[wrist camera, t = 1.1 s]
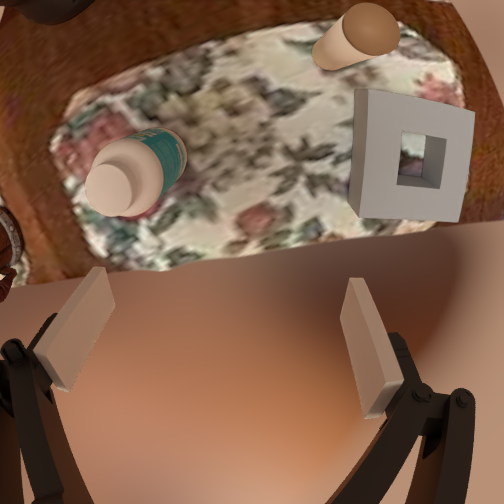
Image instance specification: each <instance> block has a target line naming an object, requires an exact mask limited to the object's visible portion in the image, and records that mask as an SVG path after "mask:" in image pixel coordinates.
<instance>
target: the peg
mask: <svg viewBox="0 0 504 504" xmlns="http://www.w3.org/2000/svg"><path fill="white" fill-rule="evenodd" d="M399 41H400V29H399V26H398V23H397V21H396V20H395V18H394V17H393V16H392V14H390V13H389V12H388V11H387V10H386V9H384V8H383V7H381V6H379V5H376V4H372V3H360V4H357V5H354V6H353V7H352V8H350V9H349V10H348V11H347V12H346V13H345V14H344V15H343V16H342V17H341V18H340V19H339V20H338V21H337V22H336V23H335V24H334V25H333V26H332V27H331V28H330V29H329V30H328V31H327V32H326V33H325V34H324V35H323V36H322V37H321V38H320V39H319V40H318V41H317V42H316V43H315V44H314V46H313V48H312V58H313V60H314V62H315V63H316V64H317V65H318V66H319V67H320V68H322V69H325V70H331V71H332V70H337V69H340V68H343V67H345V66H348V65H351V64H354V63H357V62H360V61H364V60H367V59H370V58H373V57H377V56H380V55H383V54H387V53H389V52H391V51H393V50H394V49H395V48H396V47H397V45H398V43H399Z"/></svg>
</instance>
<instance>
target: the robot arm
mask: <svg viewBox="0 0 504 504" xmlns="http://www.w3.org/2000/svg"><path fill="white" fill-rule="evenodd" d="M93 1H94V0H0V6H7V7H13V8H14V9H16V10H17V11H19V12H20V13H22V14H23V15H24V16H25V17H26V18H27V19H28V20H30V21H31V22H34V23H38V24H44V25H55V24H59V23H62V22H65V21H67V20H69V19H71V18H72V17H74V16H76V15H77V14H79V13H80V12H81V11H83V10H84V9H85V8H86V7H87V6H88V5H90V4H91V3H92V2H93ZM115 306H116V305H115V302H114V298H113V295H112V292H111V288H110V285H109V281H108V278H107V273H106V270H105V267H93V268H92V269H91V271H90V272H89V273H88V274H87V276H86V277H85V278H84V280H83V281H82V282H81V283H80V285H79V286H78V287H77V288H76V290H75V291H74V293H73V294H72V295H71V296H70V298H69V299H68V301H67V302H66V303H65V304H64V306H63V307H62V309H61V310H60V311H59V313H54V314H53V315H51V316H50V317H49V318H47V320H46V321H45V323H44V324H43V327H41V328H40V330H39V332H38V333H37V334H36V336H35V337H34V339H33V340H32V341H31V343H30V345H29V346H28V347H27V349H25V347H24V345H23V344H22V342H21V341H20V340H19V339H15V338H14V339H10V340H8V341H6V342H5V343H4V345H3V346H2V347H1V350H0V353H1V355H2V356H3V358H4V359H5V360H0V504H24V497H23V488H22V477H21V458H20V448H21V452H22V456H23V460H24V464H25V468H26V471H27V474H28V478H29V481H30V484H31V487H32V491H33V493H34V497H35V500H34V501H33V502H32V503H31V504H94V502H93V500H92V498H91V496H90V494H89V492H88V490H87V487H86V485H85V483H84V481H83V479H82V476H81V474H80V472H79V469H78V467H77V465H76V462H75V459H74V457H73V454H72V451H71V449H70V446H69V443H68V440H67V438H66V435H65V432H64V429H63V425H62V422H61V419H60V416H59V412H58V409H57V405H56V402H55V398H54V394H53V391H52V389H51V387H50V386H51V384H52V382H53V383H54V384H55V386H56V387H57V388H58V389H59V390H62V391H65V392H69V393H70V392H71V390H72V387H73V386H74V383H75V381H76V379H77V377H78V375H79V373H80V371H81V369H82V367H83V365H84V363H85V361H86V359H87V357H88V356H89V354H90V352H91V350H92V348H93V346H94V344H95V342H96V341H97V339H98V337H99V335H100V333H101V331H102V330H103V328H104V326H105V324H106V322H107V320H108V319H109V317H110V315H111V313H112V312H113V310H114V308H115ZM340 320H341V324H342V328H343V332H344V335H345V339H346V343H347V347H348V351H349V355H350V359H351V363H352V367H353V371H354V376H355V380H356V384H357V388H358V393H359V398H360V402H361V407H362V412H363V416H364V419H370V418H378V417H381V415H382V414H383V413H384V411H385V412H386V416H387V419H386V420H385V421H384V423H383V424H382V425H381V427H380V428H379V429H380V430H379V431H378V433H377V434H376V436H375V437H374V439H373V440H372V442H371V443H370V445H369V446H368V448H367V449H366V451H365V452H364V454H363V455H362V457H361V458H360V459H359V461H358V462H357V464H356V465H355V466H354V468H353V469H352V471H351V472H350V473H349V475H348V476H347V477H346V479H345V480H344V481H343V482H342V484H341V485H340V486H339V487H338V489H337V490H336V491H335V492H334V494H333V495H332V496H331V497H330V498H329V500H328V501H327V502H326V503H325V504H379V503H380V501H381V500H382V498H383V497H384V495H385V494H386V492H387V491H388V489H389V488H390V486H391V484H392V483H393V481H394V479H395V478H396V476H397V474H398V473H399V471H400V469H401V467H402V466H403V464H404V462H405V460H406V458H407V457H408V455H409V453H410V451H411V449H412V447H413V445H414V443H415V441H416V439H417V437H418V435H420V436H422V441H421V446H420V450H419V455H418V459H417V463H416V467H415V471H414V475H413V479H412V482H411V486H410V489H409V492H408V496H407V499H406V502H405V504H465V499H466V494H467V489H468V483H469V477H470V470H471V462H472V453H473V442H474V429H475V398H474V396H473V395H472V393H471V392H470V391H468V390H467V389H464V388H458V389H455V390H454V391H453V392H452V393H451V395H448V394H440V393H435V392H433V390H432V389H431V387H429V386H428V385H427V384H425V383H422V381H421V379H420V376H419V374H418V371H417V369H416V366H415V364H414V361H413V359H412V357H411V354H410V352H409V350H408V347H407V345H406V342H405V340H404V339H403V338H402V337H401V336H400V335H399V334H398V333H397V332H394V333H386V330H385V328H384V325H383V323H382V321H381V318H380V315H379V313H378V311H377V308H376V306H375V304H374V301H373V299H372V296H371V294H370V292H369V290H368V287H367V285H366V283H365V281H364V279H363V278H350V279H349V283H348V288H347V291H346V296H345V299H344V303H343V308H342V311H341V315H340Z"/></svg>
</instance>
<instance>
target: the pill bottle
mask: <svg viewBox="0 0 504 504" xmlns="http://www.w3.org/2000/svg"><path fill="white" fill-rule="evenodd" d="M186 162H187V152H186V148H185V145H184V143H183V141H182V140H181V139H180V137H179V136H178V135H177V134H175V133H174V132H172V131H171V130H168V129H165V128H160V127H156V128H150V129H147V130H144V131H141V132H138V133H135V134H133V135H130V136H127V137H124V138H122V139H119V140H116V141H114V142H111V143H109V144H108V145H106V146H105V147H104V148H103V149H102V150H101V151H100V152H99V153H98V154H97V156H96V157H95V159H94V162H93V164H92V168H91V171H90V172H89V174H88V176H87V178H86V182H85V192H86V196H87V199H88V201H89V203H90V205H91V206H92V207H93V208H94V209H95V210H96V211H97V212H99V213H100V214H102V215H105V216H109V217H113V216H118V215H120V216H135V215H139V214H141V213H143V212H145V211H146V210H148V209H149V208H150V207H151V206H152V205H153V204H154V203H155V202H156V201H157V200H158V199H159V198H160V197H161V196H162V195H163V194H164V193H165V192H166V191H167V190H168V189H169V188H170V187H171V186H172V185H173V184H174V183H175V182H176V181H177V180H178V179H179V177H180V176H181V175H182V173H183V171H184V169H185V167H186Z"/></svg>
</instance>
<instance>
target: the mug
mask: <svg viewBox="0 0 504 504" xmlns="http://www.w3.org/2000/svg"><path fill="white" fill-rule="evenodd" d="M21 237H22V235H21V232H20V228H19V226H18V224H17V222H16V220H15V219H14V218H13V216H12V215H11V214H8V211H7V210H5V209H4V208H2V207H0V274H2V275H6V276H5V277H4V278H3V279H2V280H0V303H1V302H3V301H4V299H6V297H7V295H8V293H9V290H10V288H11V286H12V282H13V279H14V278H15V276H16V275H17V272H16V269H13V268H11V266H12V265H16V262H17V260H18V259H19V256H20V254H21V252H22V248H23V243H22V239H21Z"/></svg>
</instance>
